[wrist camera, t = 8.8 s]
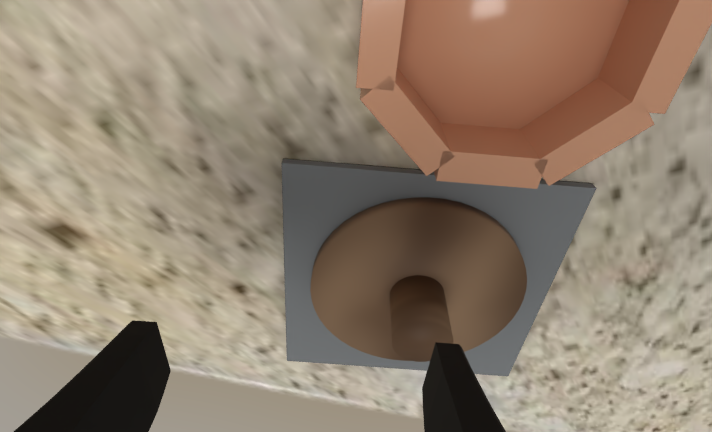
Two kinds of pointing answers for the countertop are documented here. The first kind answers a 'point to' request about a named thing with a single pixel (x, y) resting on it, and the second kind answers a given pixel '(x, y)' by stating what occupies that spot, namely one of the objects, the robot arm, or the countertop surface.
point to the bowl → (522, 80)
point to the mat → (383, 184)
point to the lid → (417, 278)
